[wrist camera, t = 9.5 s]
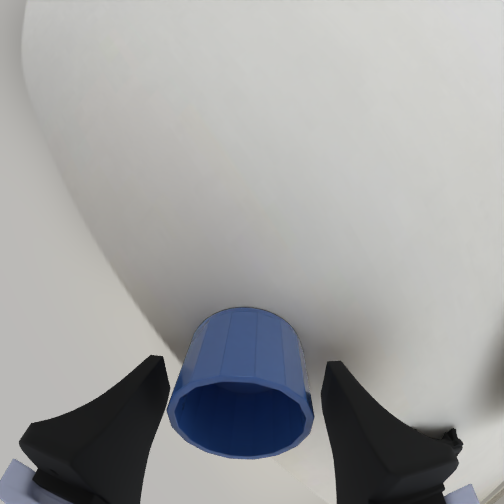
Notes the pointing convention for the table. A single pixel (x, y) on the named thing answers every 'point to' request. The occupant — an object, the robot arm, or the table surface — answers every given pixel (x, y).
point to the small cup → (243, 387)
